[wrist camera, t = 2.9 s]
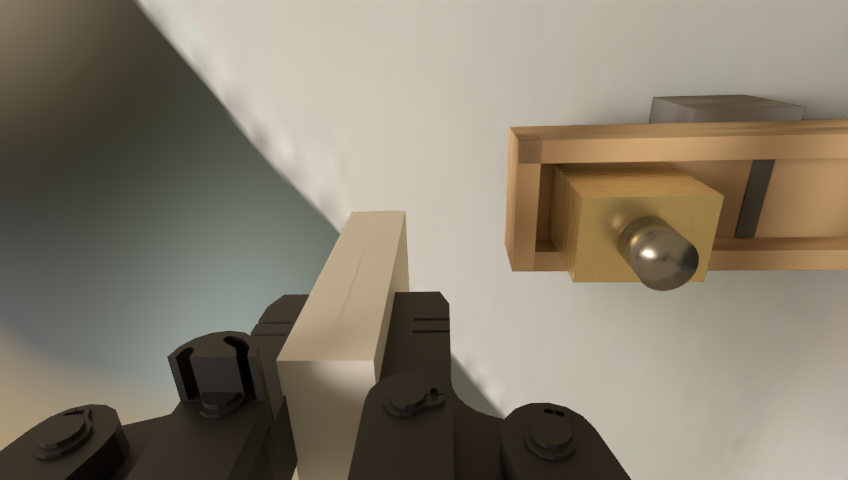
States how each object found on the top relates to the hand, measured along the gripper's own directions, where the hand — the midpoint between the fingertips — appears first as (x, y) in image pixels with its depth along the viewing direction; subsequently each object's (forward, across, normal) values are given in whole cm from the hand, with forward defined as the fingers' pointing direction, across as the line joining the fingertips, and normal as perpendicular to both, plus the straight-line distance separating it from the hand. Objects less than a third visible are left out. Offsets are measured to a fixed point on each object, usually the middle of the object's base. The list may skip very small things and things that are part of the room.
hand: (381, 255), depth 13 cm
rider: (+5, -8, 0) cm, 9 cm away
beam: (+11, -14, 0) cm, 17 cm away
